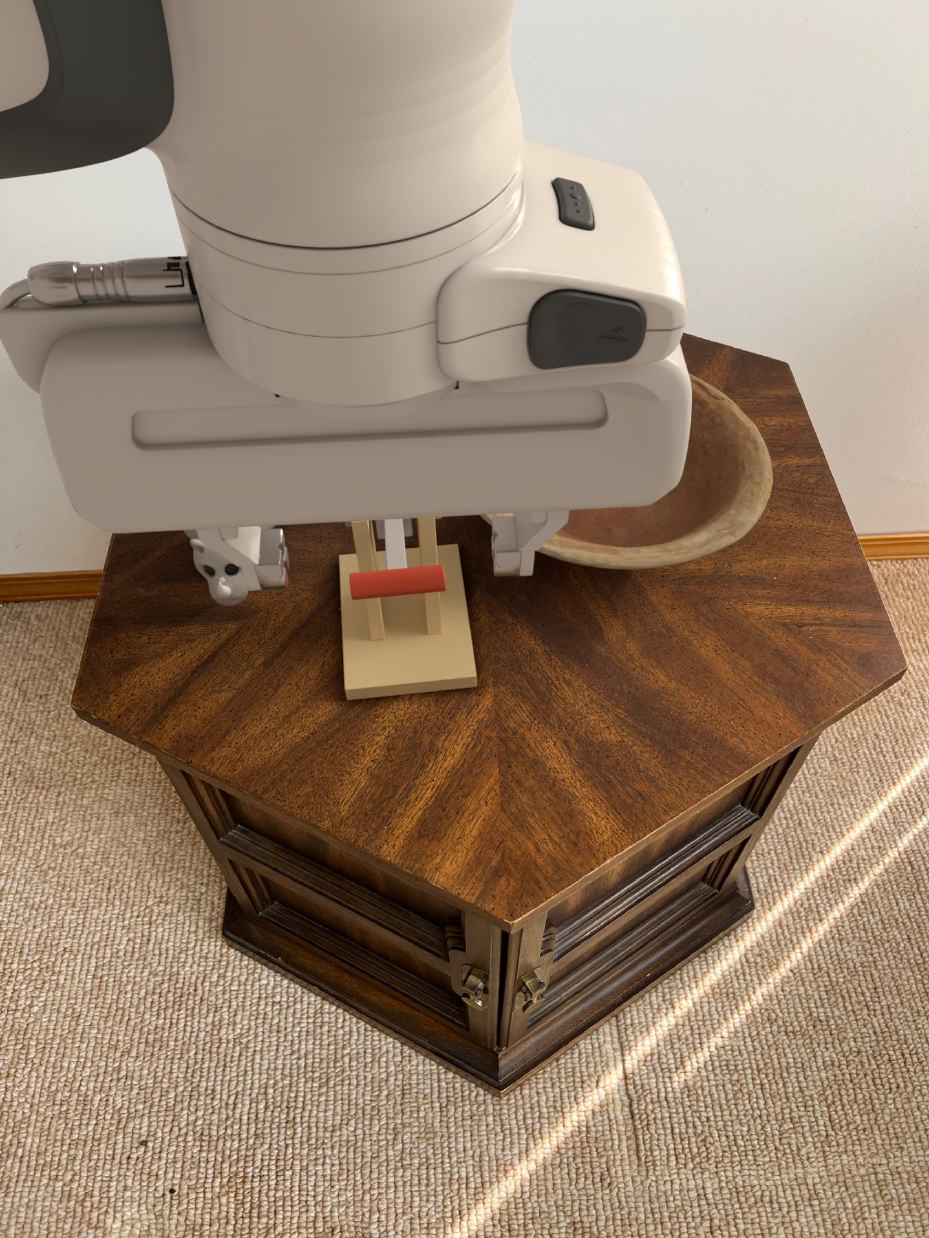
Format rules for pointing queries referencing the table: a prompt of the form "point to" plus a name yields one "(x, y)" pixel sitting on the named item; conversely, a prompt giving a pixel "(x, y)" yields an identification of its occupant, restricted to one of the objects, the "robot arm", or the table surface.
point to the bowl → (680, 499)
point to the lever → (396, 568)
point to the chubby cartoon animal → (219, 572)
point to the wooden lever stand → (405, 624)
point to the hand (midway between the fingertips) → (391, 570)
